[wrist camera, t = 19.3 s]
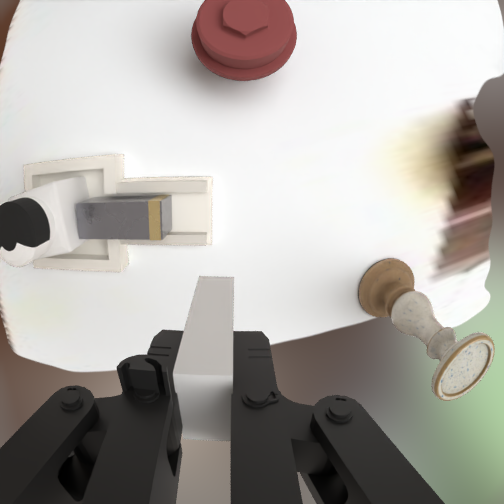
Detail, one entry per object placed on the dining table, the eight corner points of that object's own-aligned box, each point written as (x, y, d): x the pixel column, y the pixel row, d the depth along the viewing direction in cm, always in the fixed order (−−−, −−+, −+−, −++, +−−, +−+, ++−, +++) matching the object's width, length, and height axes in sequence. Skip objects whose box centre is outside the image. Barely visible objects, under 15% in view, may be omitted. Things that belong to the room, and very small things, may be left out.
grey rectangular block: (94, 196, 34) (75, 203, 29) (171, 194, 35) (161, 200, 30) (96, 229, 35) (78, 239, 31) (172, 229, 36) (162, 240, 31)
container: (40, 189, 34) (-24, 208, 21) (86, 174, 34) (24, 187, 21) (53, 244, 36) (-4, 280, 24) (99, 234, 36) (45, 270, 24)
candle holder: (379, 324, 43) (446, 417, 24) (345, 289, 41) (415, 386, 22) (420, 284, 41) (506, 358, 22) (391, 245, 39) (488, 312, 20)
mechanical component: (257, 10, 29) (300, 71, 32) (185, 46, 31) (227, 109, 33) (265, -42, 18) (328, 36, 20) (164, 2, 19) (222, 86, 22)
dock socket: (35, 163, 33) (23, 165, 31) (213, 151, 35) (211, 151, 32) (44, 261, 38) (33, 268, 35) (212, 265, 39) (210, 274, 36)
